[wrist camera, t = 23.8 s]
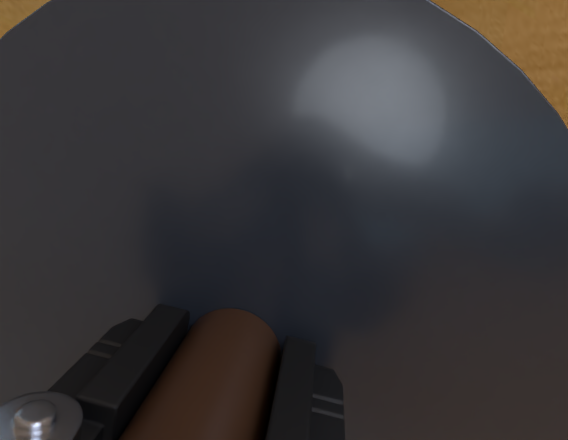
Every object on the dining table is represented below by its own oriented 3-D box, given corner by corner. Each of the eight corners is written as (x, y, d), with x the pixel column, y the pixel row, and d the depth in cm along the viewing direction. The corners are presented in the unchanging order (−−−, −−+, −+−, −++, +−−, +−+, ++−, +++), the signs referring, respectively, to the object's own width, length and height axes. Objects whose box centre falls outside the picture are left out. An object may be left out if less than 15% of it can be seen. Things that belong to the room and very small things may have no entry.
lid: (733, 60, 9) (1606, -51, 3) (461, 641, 14) (566, 1073, 7) (-62, -104, 10) (-710, -460, 4) (-60, 495, 14) (-346, 774, 8)
